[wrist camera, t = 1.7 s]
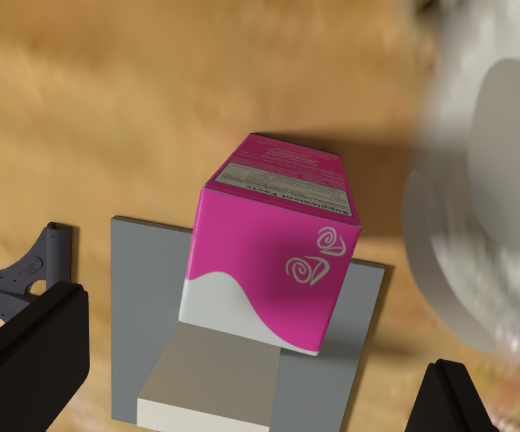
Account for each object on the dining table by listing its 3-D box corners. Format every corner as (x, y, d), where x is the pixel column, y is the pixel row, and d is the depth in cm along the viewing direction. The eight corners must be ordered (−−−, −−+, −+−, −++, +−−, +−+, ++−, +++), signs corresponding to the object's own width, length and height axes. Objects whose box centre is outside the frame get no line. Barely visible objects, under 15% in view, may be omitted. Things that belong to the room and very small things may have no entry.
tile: (185, 310, 28) (137, 398, 21) (283, 330, 28) (269, 427, 21) (183, 335, 29) (136, 428, 22) (278, 355, 29) (263, 456, 21)
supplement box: (319, 240, 26) (316, 365, 15) (230, 217, 26) (167, 322, 16) (346, 153, 24) (365, 228, 13) (248, 129, 24) (190, 182, 13)
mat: (115, 215, 27) (110, 219, 27) (383, 264, 26) (385, 269, 25) (115, 413, 34) (111, 418, 33) (328, 461, 32) (328, 468, 32)
